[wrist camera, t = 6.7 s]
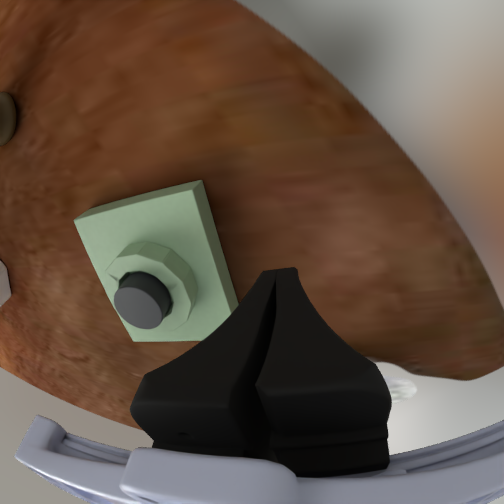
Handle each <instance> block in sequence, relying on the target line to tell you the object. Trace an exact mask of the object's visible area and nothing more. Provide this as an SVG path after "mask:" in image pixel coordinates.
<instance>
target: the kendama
mask: <svg viewBox="0 0 504 504" xmlns="http://www.w3.org/2000/svg"><path fill="white" fill-rule="evenodd" d="M15 126H16V108H15V105H14V101H13V99H12V98H11V96H10V95H9V93H5V92H0V146H2V145H5V144H6V143H7V142H8V141H9V140H10V139H11V137H12V135H13V133H14V131H15Z"/></svg>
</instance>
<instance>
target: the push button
mask: <svg viewBox="0 0 504 504" xmlns="http://www.w3.org/2000/svg"><path fill="white" fill-rule="evenodd" d="M170 303H171V297H170V293H169V291H168V289H167V288H166V286H165V285H164V284H163V283H162V282H161V281H160V280H159V279H158V278H156V277H155V276H153V275H151V274H148V273H144V272H136V273H133V274H130V275H129V276H128V277H127V278H126V279H125V280H124V282H123V283H122V284H121V286H120V287H119V288H118V290H117V291H116V292H115V295H114V305H115V308H116V310H117V312H118V313H119V315H120V316H121V317H122V318H123V319H124V320H125V321H126V322H128V323H129V324H131V325H133V326H135V327H137V328H140V329H153V328H156V327H157V326H159V325H160V324H161V322H162V320H163V318H164V316H165V314H166V312H167V310H168V308H169V306H170Z"/></svg>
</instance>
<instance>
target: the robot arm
mask: <svg viewBox="0 0 504 504" xmlns="http://www.w3.org/2000/svg"><path fill="white" fill-rule="evenodd" d="M391 406H392V400H391V395H390V392H389V389H388V387H387V384H386V382H385V380H384V378H383V376H382V374H381V372H380V371H379V369H378V367H377V366H376V364H375V363H373V362H371V361H370V360H368V359H367V358H365V357H364V356H362V355H361V354H360V353H358V352H357V351H356V350H354V349H353V348H352V347H350V346H349V345H348V344H347V343H346V342H345V341H344V340H342V339H341V338H340V337H339V336H338V335H337V334H336V333H335V332H334V331H333V330H332V329H331V328H330V327H329V326H328V325H327V323H326V322H325V321H324V320H323V319H322V317H321V316H320V315H319V314H318V312H317V311H316V309H315V308H314V306H313V305H312V303H311V302H310V300H309V299H308V297H307V295H306V293H305V291H304V289H303V287H302V285H301V283H300V280H299V276H298V270H297V269H296V268H295V267H291V268H283V269H275V270H267V271H263V272H262V273H261V275H260V276H259V277H258V279H257V280H256V282H255V283H254V285H253V286H252V288H251V289H250V291H249V292H248V293H247V295H246V296H245V297H244V299H243V300H242V301H241V303H240V304H239V305H238V306H237V307H236V309H235V310H234V311H233V312H232V313H231V315H230V316H229V317H228V318H227V319H226V320H225V321H224V322H223V323H222V324H221V325H220V326H219V327H218V328H217V329H216V330H214V331H213V332H212V333H211V334H210V335H209V336H207V337H206V338H205V339H203V340H202V341H201V342H200V343H198V344H197V345H196V346H194V347H193V348H192V349H190V350H189V351H187V352H186V353H184V354H183V355H181V356H179V357H178V358H176V359H174V360H173V361H171V362H169V363H167V364H165V365H163V366H161V367H159V368H157V369H155V370H153V371H151V372H149V373H147V374H145V375H144V377H143V379H142V381H141V383H140V385H139V388H138V390H137V392H136V394H135V397H134V399H133V401H132V404H131V406H130V412H131V415H132V417H133V419H134V420H135V421H136V423H137V424H138V425H139V426H140V427H141V428H142V429H143V430H144V431H145V432H146V433H147V434H148V435H149V436H150V437H151V438H152V439H153V440H154V442H153V445H152V448H147V447H139V448H136V449H135V450H133V451H129V450H125V449H121V448H117V447H113V446H109V445H105V444H102V443H98V442H95V441H91V440H88V439H85V438H82V437H79V436H76V435H73V434H70V433H67V432H66V431H65V430H64V429H63V428H62V427H61V426H60V425H59V424H58V423H56V422H55V421H53V420H51V419H48V418H46V417H43V416H40V415H36V417H35V418H34V420H33V422H32V424H31V426H30V427H29V429H28V431H27V433H26V435H25V437H24V438H23V440H22V442H21V444H20V446H19V448H18V450H17V452H16V454H15V458H16V459H17V460H19V461H20V462H22V463H23V464H24V465H25V466H27V467H28V468H30V469H31V470H32V471H34V472H35V473H36V474H38V475H39V476H41V477H42V478H44V479H45V480H47V481H48V482H50V483H51V484H53V485H55V486H57V487H58V488H61V489H62V490H64V491H66V492H68V493H70V494H72V495H74V496H77V497H78V498H80V499H83V500H85V501H87V502H89V503H91V504H487V503H489V502H491V501H493V500H495V499H497V498H499V497H501V496H503V495H504V420H502V421H500V422H498V423H495V424H493V425H491V426H488V427H486V428H483V429H480V430H478V431H475V432H472V433H470V434H467V435H464V436H461V437H458V438H455V439H452V440H449V441H445V442H442V443H439V444H435V445H432V446H428V447H424V448H420V449H416V450H412V451H408V452H403V453H399V454H394V455H389V449H388V442H387V438H388V429H387V421H388V418H389V414H390V410H391Z"/></svg>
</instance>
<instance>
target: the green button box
mask: <svg viewBox="0 0 504 504" xmlns="http://www.w3.org/2000/svg"><path fill="white" fill-rule="evenodd" d="M74 222H75V225H76V227H77V230H78V232H79V235H80V237H81V239H82V242H83V244H84V246H85V248H86V251H87V253H88V255H89V257H90V259H91V262H92V264H93V266H94V268H95V270H96V272H97V274H98V276H99V278H100V280H101V282H102V284H103V286H104V288H105V291H106V293H107V295H108V297H109V299H110V301H111V303H112V305H113V307H114V308H115V305H114V295H115V292H116V291H117V290H118V288H119V287H120V286H121V284H122V283H123V282H124V280H125V279H126V278H127V277H128V276H129V275H130V274H133V273H136V272H144V273H148V274H151V275H153V276H155V277H156V278H158V279H159V280H160V281H161V282H162V283H163V284H164V285H165V286H166V288H167V289H168V291H169V293H170V297H171V303H170V306H169V308H168V310H167V312H166V314H165V316H164V318H163V320H162V322H161V324H160V325H159V326H157V327H156V328H153V329H140V328H137V327H135V326H133V325H131V324H129V323H128V322H126V321H125V320H124V319H123V318H122V317H121V316H120V315H119V313H118V312H117V313H118V315H119V317H120V319H121V320H122V322H123V324H124V326H125V327H126V329H127V331H128V333H129V334H130V336H131V338H132V339H133V341H200V340H203V339H205V338H206V337H207V336H209V335H210V334H211V333H212V332H213V331H214V330H216V329H217V328H218V327H219V326H220V325H221V324H222V323H223V322H224V321H225V320H226V319H227V318H228V317H229V316H230V315H231V313H232V312H233V311H234V310H235V309H236V307H237V306H238V305H239V304H238V301H237V297H236V294H235V291H234V288H233V284H232V281H231V278H230V275H229V271H228V268H227V265H226V261H225V258H224V254H223V251H222V248H221V244H220V241H219V238H218V234H217V231H216V227H215V224H214V220H213V217H212V213H211V210H210V206H209V203H208V199H207V196H206V192H205V189H204V185H203V181H202V180H198V181H194V182H189V183H185V184H181V185H177V186H172V187H168V188H164V189H160V190H156V191H152V192H148V193H144V194H141V195H137V196H133V197H129V198H126V199H122V200H119V201H115V202H112V203H108V204H105V205H101V206H98V207H94V208H91V209H88V210H87V211H86V212H84V213H83V214H81V215H80V216H79V217H77V218H76V219H75V220H74ZM115 310H116V308H115ZM116 311H117V310H116Z"/></svg>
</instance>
